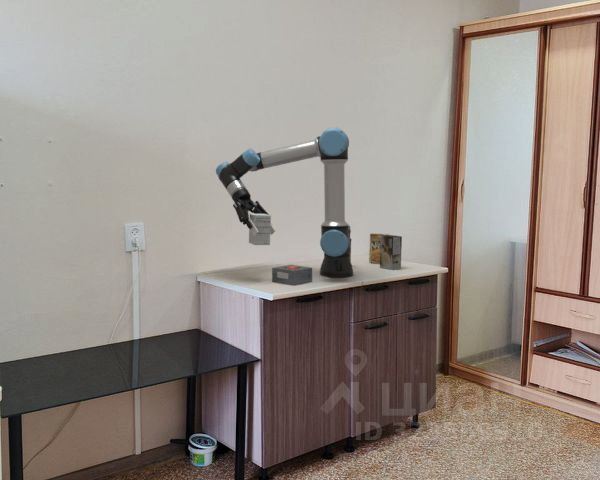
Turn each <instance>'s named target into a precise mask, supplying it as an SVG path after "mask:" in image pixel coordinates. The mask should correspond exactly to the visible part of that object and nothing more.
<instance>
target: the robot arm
mask: <svg viewBox="0 0 600 480" xmlns="http://www.w3.org/2000/svg"><path fill="white" fill-rule="evenodd" d="M349 140H350V139H349V137H348V135H347V133H345V131H344V130H342V129H341V128H338V127H331V128H330V127H329V128H327V129H326V130H323V132H322V133H321V135H319V136H316V138H315V139H313V140H308V141H304V142H303V141H302V142H300V143H294V144H291V145H287V146H281V147H278V148H274V149H269V150H265V151H261V152H257V153H256V151H255V150H253V149H252V148H248V149H246V150H245V151H243V152H242V153H241V154H240V155H239V156H238V157H237V158H236V159H234V160H233V161H232V162H231V163H230V162H228V161H224V162H222V163H220V164H219V165H217V167H216V168H215V173H216V175H217V177H218V180H219V181H220V183H221V184H222V185H223V187H224V188H225V190H226V191H227V192H228V194H229V196H230V198H231V200H233V202H234V203H233V205H232V206H233V208H234V210H235V212H236V214H237V217H238V221H239V222H240V224H241V223H242V225H243V226H245V225H246V227H247V228H248V230H249V229H250V230H251V232H252V234H253V235H254V236H256V235H257V234H258V232H259V231H258V230H257V228H256V227H255V225H254V223H253V222H252V220H250V214H267V215H270V214H269V213H268V211H266V209H264V208H263V206H262V205H261V204H260V202H259V201H258V200H256V201H253V200H252V199H251V193H250V192H249V190H248V189H247V187H246V185H245V184H244V183H243V181H242V180H241V178H242V177H244V176H245V175H246V174H247V173H249V172H252V173H253V172H257V171H260V170H263V169H267V168H268V169H269V168H272V167H277V166H281V165H286V164H291V163H295V162H301V161H302V160H303V161H305V160H308V159H313V158H316V157H317V158H318V157H319V158H320V162H321V163H322V164H323V168H324V169H323V178H324V179H323V182H324V192H323V193H324V221H323V222H322V223H321V225H320V229H321V230H320V231H321V232H320V233H321V235H320V240H319V245H320V248H321V250H322V251H323V260H322V262H321V265H320V269H319V275H321V276H323V277H330V278H347V277H349V278H350V277H352V276H354V269H353V265H352V260H351V261H350V238H351V232H352V230H351V225H350V224H349V223H348V222H346V218H345V217H346V216H345V215H346V214H345V212H346V207H345V201H346V200H345V199H346V198H345V189H346V188H345V164H346V163H347V162H348V160H349V147H350V141H349ZM249 212H250V213H249ZM275 232H276V229H275V227H274V226H273V224H272V223H271V226H270V236H272V235H273V234H275Z"/></svg>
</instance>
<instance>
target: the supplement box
mask: <svg viewBox="0 0 600 480" xmlns="http://www.w3.org/2000/svg"><path fill="white" fill-rule="evenodd" d="M249 220H252V222H253V223H254V225H255V227H256V228H257V230H258V231H259V232H258V234H257V235H256V236H254V235H253V234H252V232H251V230H250V229H249V228H248V244H250V245H253V246H270V245H271V234H270V226H271V224H272V222H271V221H272V215H270V214H269V215H267V214H254V213H249Z"/></svg>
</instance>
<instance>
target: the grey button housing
mask: <svg viewBox="0 0 600 480" xmlns="http://www.w3.org/2000/svg"><path fill="white" fill-rule="evenodd" d="M287 266H298V268H297V269H288V268H287ZM271 282H272V283H276V284H283V285H288V286H298V285H304V284H308V283H312V282H313V267H309V266H303V265H295V264H287V265H281V266H280V265H279V266H275V267H272V268H271Z"/></svg>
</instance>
